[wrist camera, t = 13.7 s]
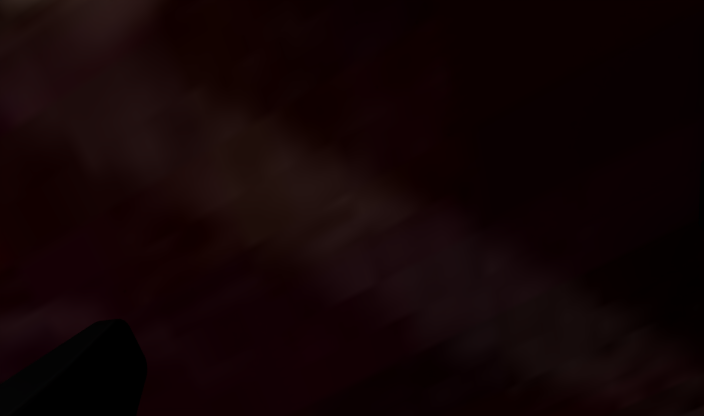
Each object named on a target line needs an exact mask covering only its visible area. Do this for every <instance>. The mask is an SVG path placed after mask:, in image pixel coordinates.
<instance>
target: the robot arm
mask: <svg viewBox="0 0 704 416" xmlns="http://www.w3.org/2000/svg"><path fill="white" fill-rule="evenodd" d="M699 225H700V227H701V228H702V229H703V230H704V160H703V162H702V163H701V181H700V206H699ZM146 375H147V363H146V359H145V356H144V354H143V352H142V350H141V348H140V346H139V344H138V342H137V340H136V338H135V336H134V334H133V332H132V330H131V328H130V326H129V325H128V323H126V322H125V321H124V320H122V319H113V320H105V321H98V322H95V323H94V324H92V325H90V326H89V327H87V328H86V329H84V330H83V331H81V332H80V333H78V334H77V335H75V336H73V337H72V338H70V339H69V340H67V341H66V342H64V343H63V344H61V345H60V346H58V347H57V348H55V349H54V350H52V351H51V352H49V353H47V354H46V355H44V356H43V357H41V358H40V359H38V360H37V361H35V362H34V363H32V364H31V365H29V366H28V367H26V368H25V369H23V370H21V371H20V372H18V373H17V374H15V375H14V376H12V377H11V378H9V379H8V380H6V381H5V382H3V383H2V384H0V416H136V413H137V410H138V406H139V402H140V398H141V395H142V391H143V387H144V383H145V380H146Z"/></svg>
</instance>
